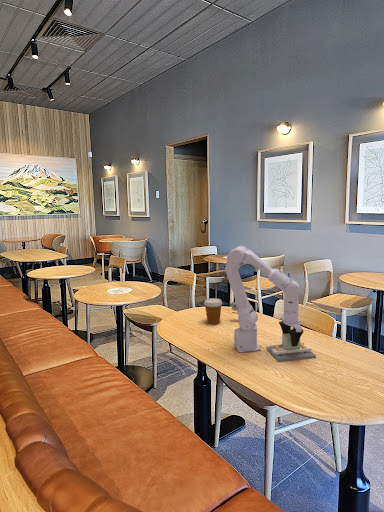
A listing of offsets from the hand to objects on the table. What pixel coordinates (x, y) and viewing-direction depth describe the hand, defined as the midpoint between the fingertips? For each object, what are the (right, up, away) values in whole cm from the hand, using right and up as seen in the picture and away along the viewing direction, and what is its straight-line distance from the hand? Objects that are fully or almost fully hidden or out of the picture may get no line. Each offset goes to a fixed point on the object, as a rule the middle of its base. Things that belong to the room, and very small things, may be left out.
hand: (290, 342), depth 138 cm
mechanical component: (-15, +1, +39) cm, 42 cm away
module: (0, -3, +1) cm, 3 cm away
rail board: (0, -5, +1) cm, 5 cm away
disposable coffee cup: (-29, 0, +38) cm, 48 cm away
